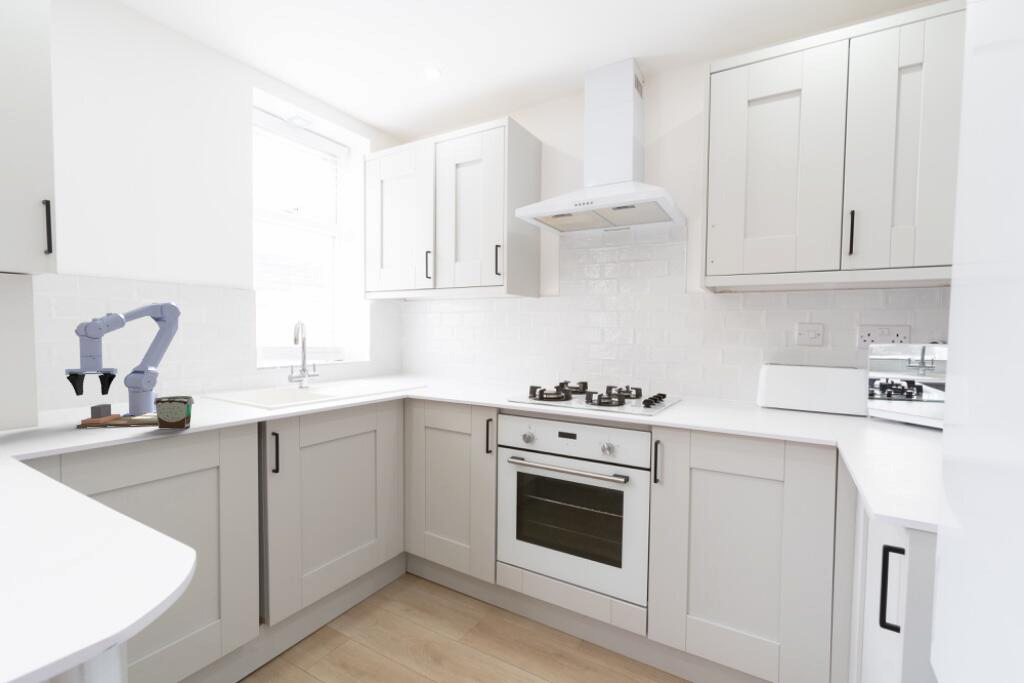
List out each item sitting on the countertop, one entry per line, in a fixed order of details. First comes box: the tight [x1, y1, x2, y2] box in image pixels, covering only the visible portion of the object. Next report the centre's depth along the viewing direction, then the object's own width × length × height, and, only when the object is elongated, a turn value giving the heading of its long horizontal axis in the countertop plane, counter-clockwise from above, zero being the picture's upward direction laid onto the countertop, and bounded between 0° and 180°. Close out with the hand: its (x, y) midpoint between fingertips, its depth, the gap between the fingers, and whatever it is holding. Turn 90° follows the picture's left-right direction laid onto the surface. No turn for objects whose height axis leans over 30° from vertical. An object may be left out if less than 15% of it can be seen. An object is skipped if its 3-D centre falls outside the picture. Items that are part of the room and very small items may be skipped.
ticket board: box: [76, 412, 158, 429], centre depth 159 cm, size 14×25×2 cm, turn 101°
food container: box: [154, 395, 195, 430], centre depth 152 cm, size 12×6×10 cm, turn 84°
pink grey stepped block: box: [80, 403, 121, 424], centre depth 157 cm, size 10×6×5 cm, turn 11°
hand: (92, 395), depth 160 cm, fingers open, 7 cm apart
